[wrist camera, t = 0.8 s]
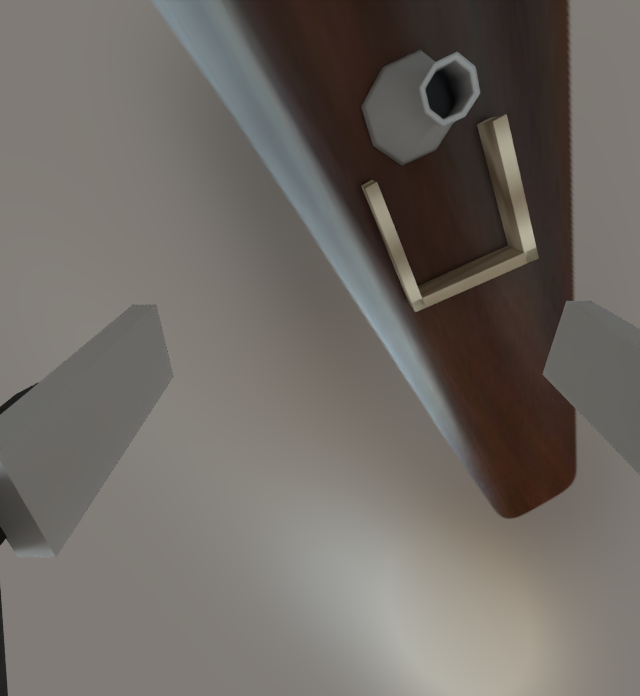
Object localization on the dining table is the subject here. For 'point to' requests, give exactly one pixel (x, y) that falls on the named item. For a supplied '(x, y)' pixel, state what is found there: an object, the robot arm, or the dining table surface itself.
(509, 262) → the caddy
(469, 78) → the flask
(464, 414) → the dining table surface
